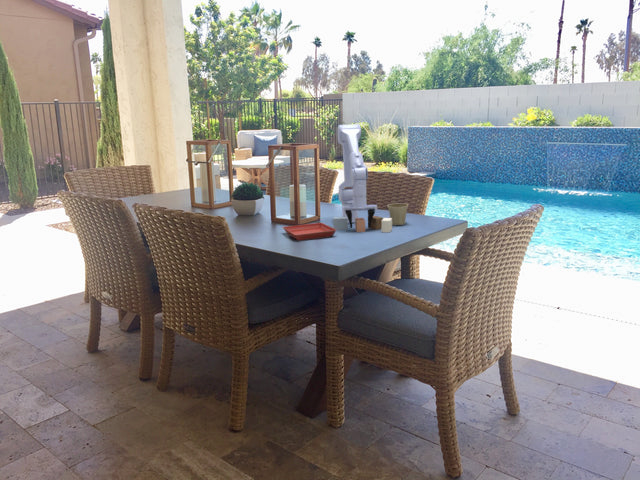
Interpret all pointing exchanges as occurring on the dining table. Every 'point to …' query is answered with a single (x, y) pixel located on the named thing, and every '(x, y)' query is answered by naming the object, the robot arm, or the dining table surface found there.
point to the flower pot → (398, 213)
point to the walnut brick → (376, 223)
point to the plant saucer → (310, 231)
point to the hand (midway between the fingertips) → (360, 227)
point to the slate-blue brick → (340, 223)
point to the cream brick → (387, 225)
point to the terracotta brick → (360, 224)
